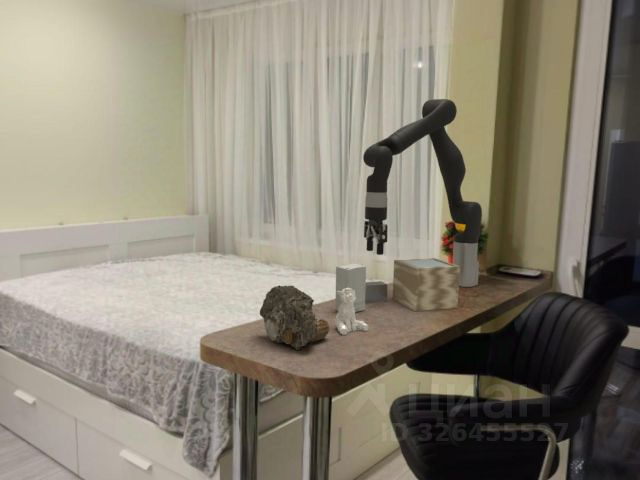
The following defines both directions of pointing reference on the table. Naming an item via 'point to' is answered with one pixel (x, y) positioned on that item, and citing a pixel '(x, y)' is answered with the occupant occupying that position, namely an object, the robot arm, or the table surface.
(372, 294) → the metal brick
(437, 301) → the hatch box
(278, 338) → the rock
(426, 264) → the hatch door
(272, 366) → the table surface
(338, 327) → the seated beast figurine
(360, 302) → the skincare box
